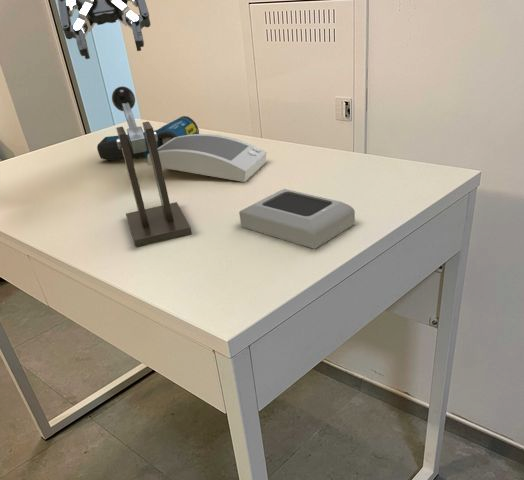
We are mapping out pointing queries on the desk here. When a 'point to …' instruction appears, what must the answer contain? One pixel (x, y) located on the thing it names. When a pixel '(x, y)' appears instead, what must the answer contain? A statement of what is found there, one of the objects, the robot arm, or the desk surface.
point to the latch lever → (129, 118)
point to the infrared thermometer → (166, 133)
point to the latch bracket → (168, 214)
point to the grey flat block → (298, 217)
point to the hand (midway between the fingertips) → (112, 51)
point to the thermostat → (211, 156)
